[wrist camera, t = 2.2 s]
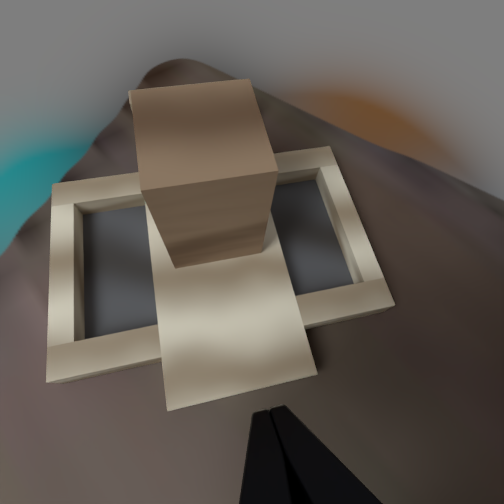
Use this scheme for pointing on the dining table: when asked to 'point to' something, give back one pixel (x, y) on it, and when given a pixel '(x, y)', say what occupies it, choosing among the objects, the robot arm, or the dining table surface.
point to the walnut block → (205, 169)
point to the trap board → (205, 286)
